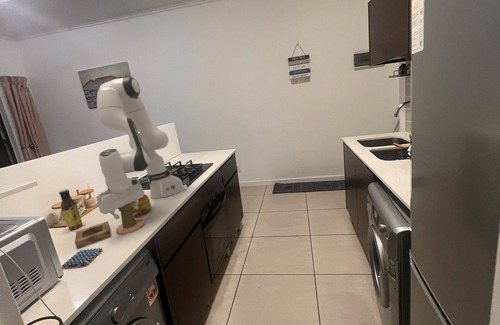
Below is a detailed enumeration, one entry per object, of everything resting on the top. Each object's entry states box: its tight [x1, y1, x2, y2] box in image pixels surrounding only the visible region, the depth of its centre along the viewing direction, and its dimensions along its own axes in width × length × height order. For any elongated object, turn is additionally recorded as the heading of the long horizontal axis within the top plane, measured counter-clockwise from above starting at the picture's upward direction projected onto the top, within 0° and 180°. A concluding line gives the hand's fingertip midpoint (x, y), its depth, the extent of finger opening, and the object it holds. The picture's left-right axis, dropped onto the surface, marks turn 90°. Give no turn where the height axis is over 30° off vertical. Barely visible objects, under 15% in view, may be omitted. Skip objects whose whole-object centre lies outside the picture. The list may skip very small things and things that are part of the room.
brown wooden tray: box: [74, 221, 112, 250], centre depth 117 cm, size 13×13×3 cm
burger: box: [130, 193, 152, 217], centre depth 136 cm, size 13×14×10 cm
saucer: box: [116, 218, 145, 235], centre depth 121 cm, size 12×12×1 cm
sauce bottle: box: [58, 189, 83, 231], centre depth 129 cm, size 6×6×20 cm
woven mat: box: [61, 247, 104, 270], centre depth 99 cm, size 10×11×2 cm
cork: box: [117, 203, 137, 228], centre depth 119 cm, size 6×6×11 cm
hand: (127, 214), depth 119 cm, fingers open, 8 cm apart
